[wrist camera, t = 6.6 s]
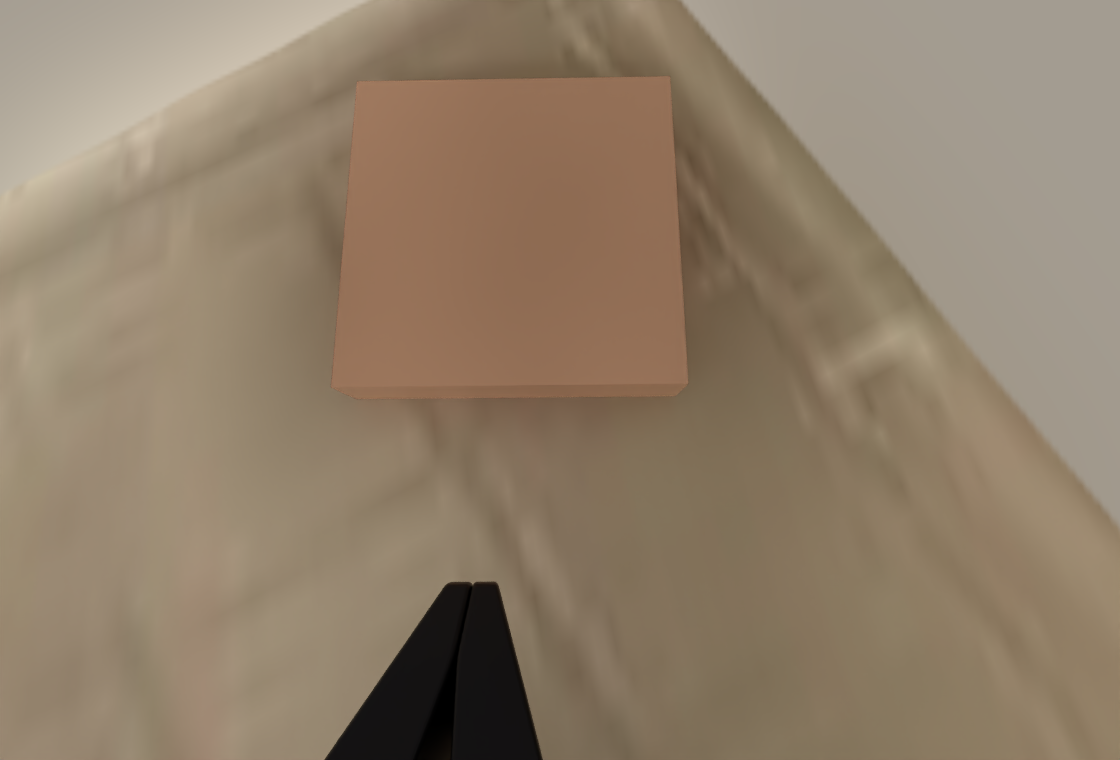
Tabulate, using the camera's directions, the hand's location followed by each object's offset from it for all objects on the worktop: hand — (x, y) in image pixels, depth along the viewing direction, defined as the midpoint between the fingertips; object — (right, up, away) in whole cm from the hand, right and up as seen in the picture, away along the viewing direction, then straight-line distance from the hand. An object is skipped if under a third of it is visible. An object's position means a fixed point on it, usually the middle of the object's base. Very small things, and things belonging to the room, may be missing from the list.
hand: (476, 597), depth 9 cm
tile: (0, +3, +7) cm, 8 cm away
